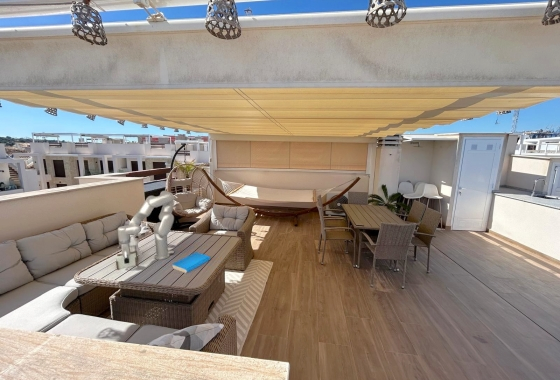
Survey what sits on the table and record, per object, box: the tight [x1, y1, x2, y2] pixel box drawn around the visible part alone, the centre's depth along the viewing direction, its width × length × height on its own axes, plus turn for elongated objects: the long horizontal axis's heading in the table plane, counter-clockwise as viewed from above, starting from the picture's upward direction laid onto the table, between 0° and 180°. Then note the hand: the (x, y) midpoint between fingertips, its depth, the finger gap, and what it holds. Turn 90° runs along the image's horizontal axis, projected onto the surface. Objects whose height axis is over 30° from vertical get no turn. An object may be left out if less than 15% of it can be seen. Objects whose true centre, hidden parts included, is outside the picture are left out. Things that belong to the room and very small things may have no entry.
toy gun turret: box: [129, 234, 144, 256], centre depth 202 cm, size 12×13×18 cm
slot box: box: [115, 251, 139, 271], centre depth 187 cm, size 14×15×7 cm
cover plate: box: [115, 253, 136, 270], centre depth 182 cm, size 13×2×10 cm, turn 122°
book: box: [171, 251, 211, 274], centre depth 189 cm, size 17×4×25 cm
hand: (127, 262), depth 183 cm, fingers closed on cover plate, 1 cm apart
